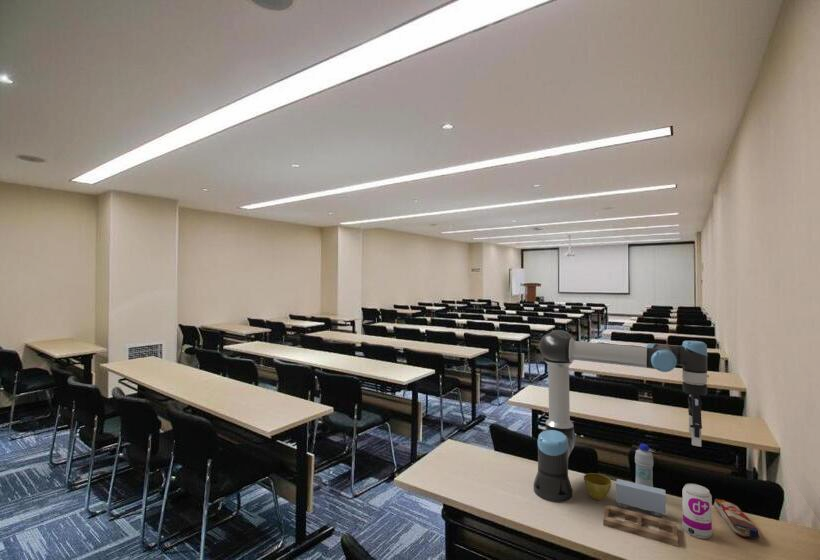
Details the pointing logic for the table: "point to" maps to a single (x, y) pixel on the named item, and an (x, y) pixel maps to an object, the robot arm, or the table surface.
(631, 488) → the light blue rectangular block
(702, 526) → the supplement can
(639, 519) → the board
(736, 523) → the pencil case
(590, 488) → the yellow bowl
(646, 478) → the bottle
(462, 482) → the table surface
